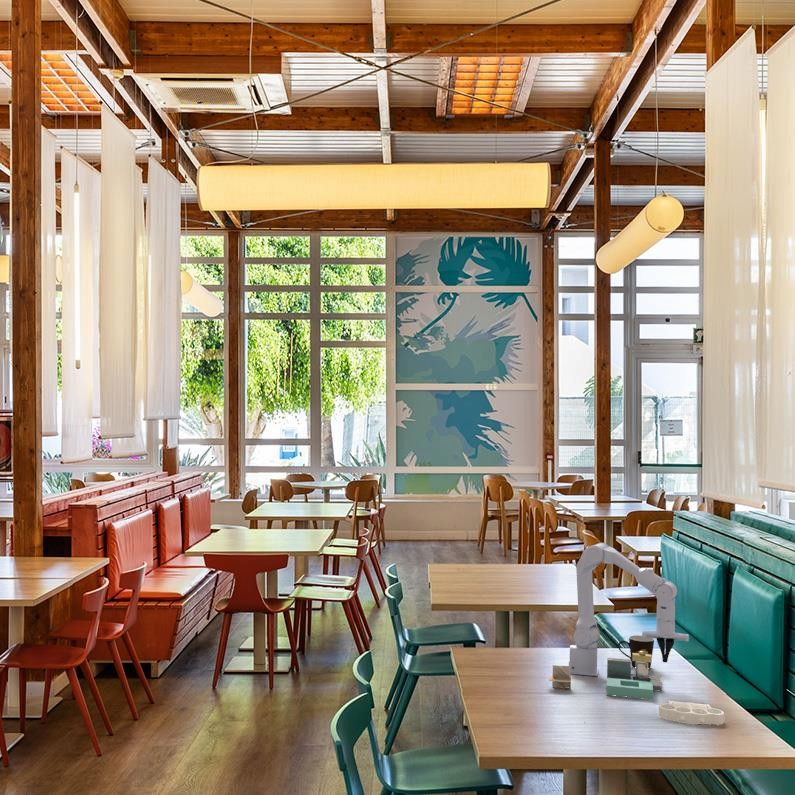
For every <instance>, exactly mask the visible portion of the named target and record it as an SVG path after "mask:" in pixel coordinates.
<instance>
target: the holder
mask: <svg viewBox="0 0 795 795" xmlns="http://www.w3.org/2000/svg"><path fill="white" fill-rule="evenodd" d="M609 695H616V696H615V697H619V696H627V697H626V698H630V697H636V698H635V699H640V698H643V699H642V700H651V699H653V700H654V691H653V685H652V682H649V681H638V680H627V679H616V678H607V677H606V696H609Z"/></svg>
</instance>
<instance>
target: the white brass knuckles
mask: <svg viewBox="0 0 795 795" xmlns="http://www.w3.org/2000/svg"><path fill="white" fill-rule="evenodd" d="M660 717H661V718H660ZM658 718H660V719H662V718H663V719H662V720H664V719H666V720H665V721H672V720H675V721H674V722H677V721H678V722H677V723H680V722H684V723H683V724H685V723H695V724H694V725H697V724H709V725H711V724H723V723H724V724H725V711H723V710H721V709H718V708H714V707H711V704H709V703H706V704H704V703H703V704H702V703H695V702H694V703H693V702H691V701H690V702H687V701H686V702H685V701H674V700H668V703H662V704H659V706H658ZM724 724H723V725H724Z"/></svg>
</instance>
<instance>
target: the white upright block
mask: <svg viewBox="0 0 795 795" xmlns="http://www.w3.org/2000/svg"><path fill="white" fill-rule="evenodd" d="M634 669H635V673H634V674H635V680H638V681H648V675H649V669H648V663H647V662H639V661H636V668H634Z"/></svg>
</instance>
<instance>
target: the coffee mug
mask: <svg viewBox="0 0 795 795" xmlns="http://www.w3.org/2000/svg"><path fill="white" fill-rule="evenodd" d="M623 643H625V644H627V646H628V648H629V652H630V655H628V654H627V653H625V652H624V651H623V650H622V649H621V647H620V646H621V644H623ZM654 643H655V638H642V635H639V634H638V635H636V634H635V635H630V636H628V641H626V640H621V641H619V642H618V644H617V647H618V650H619V651H620V652H621V653H622V655H624V656H626V657H627V659H628V658H629V660H631V667H632V666H633V667H636V661H633V660H632V655H633V653H639V651H645V654H651V655H652V656H653V653H654V652H653V651H654V645H655V644H654ZM647 663H648V668H650V667H651V666H652V663H651V662H647ZM633 667H632V668H633ZM650 669H651V668H650Z"/></svg>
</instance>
